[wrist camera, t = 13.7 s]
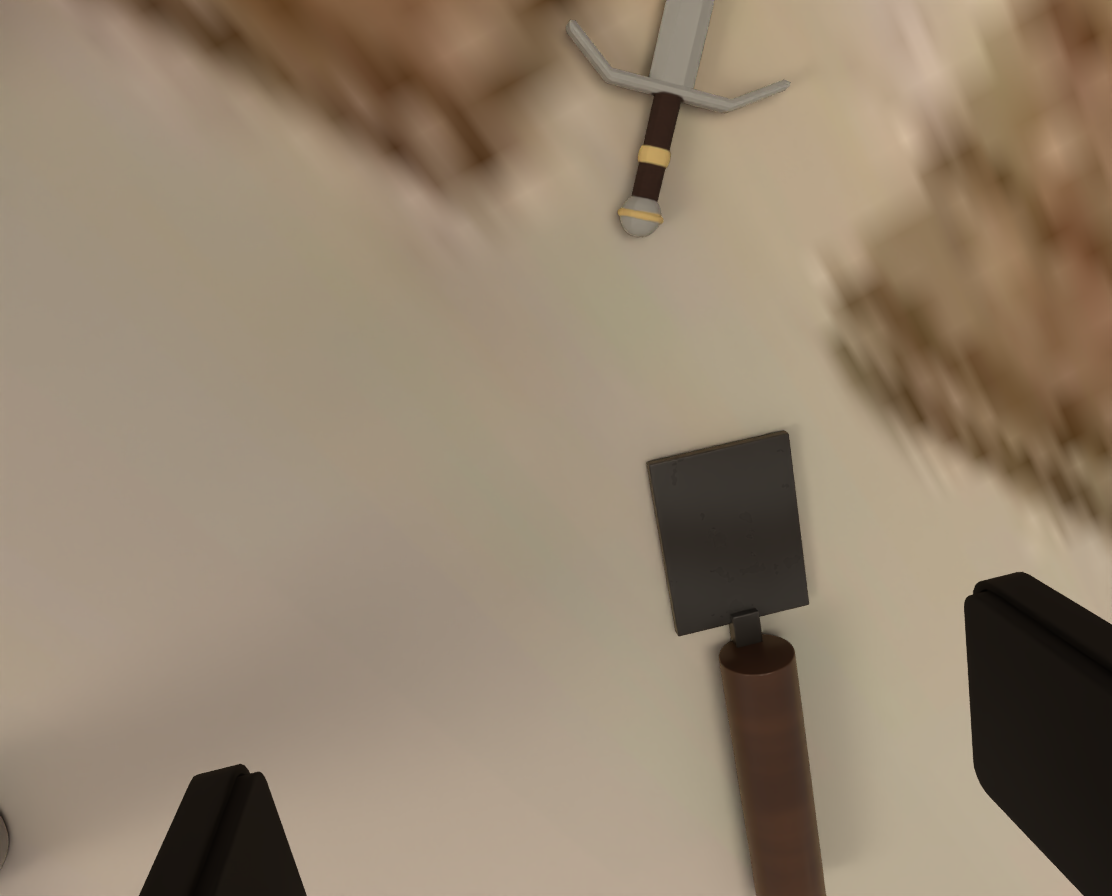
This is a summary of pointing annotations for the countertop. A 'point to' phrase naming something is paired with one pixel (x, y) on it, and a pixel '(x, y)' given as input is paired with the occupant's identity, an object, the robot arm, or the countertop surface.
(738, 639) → the spatula
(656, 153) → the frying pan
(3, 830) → the lotion bottle
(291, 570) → the countertop surface
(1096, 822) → the robot arm
